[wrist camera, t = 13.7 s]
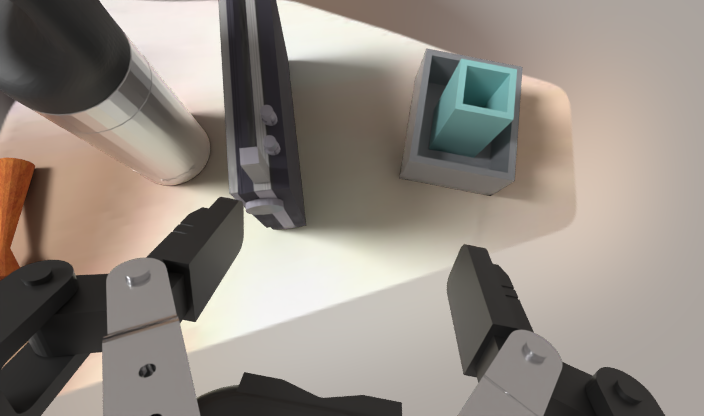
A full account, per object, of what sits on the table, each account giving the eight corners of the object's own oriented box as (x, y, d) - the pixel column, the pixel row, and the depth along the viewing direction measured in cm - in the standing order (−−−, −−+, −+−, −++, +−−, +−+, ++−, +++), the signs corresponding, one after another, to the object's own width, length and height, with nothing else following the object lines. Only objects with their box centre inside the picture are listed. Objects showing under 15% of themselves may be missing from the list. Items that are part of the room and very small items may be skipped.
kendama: (29, 151, 38) (3, 337, 32) (60, 173, 44) (42, 336, 37) (-37, 153, 37) (-78, 349, 30) (3, 176, 42) (-25, 346, 36)
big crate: (490, 195, 43) (514, 180, 38) (399, 178, 43) (409, 160, 38) (499, 94, 47) (522, 67, 41) (415, 78, 47) (426, 48, 41)
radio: (249, 63, 46) (188, -100, 27) (288, 60, 47) (254, -103, 27) (263, 236, 41) (198, 187, 21) (307, 231, 41) (281, 178, 22)
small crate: (473, 157, 44) (513, 119, 34) (428, 149, 44) (455, 108, 34) (478, 116, 45) (517, 69, 35) (434, 108, 45) (461, 58, 35)
